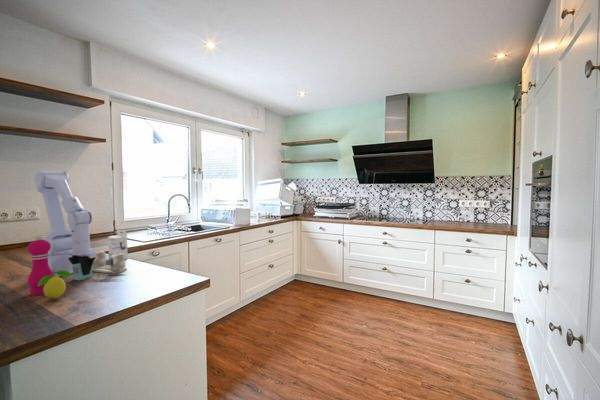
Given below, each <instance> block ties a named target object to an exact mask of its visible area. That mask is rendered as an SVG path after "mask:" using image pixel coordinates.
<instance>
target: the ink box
mask: <svg viewBox="0 0 600 400" xmlns="http://www.w3.org/2000/svg"><path fill="white" fill-rule="evenodd" d="M107 241H108V242H107V244H108V259H109V260H110V256H113V255H117V254H121V253H122V254H125V259H126V260H128V259H129V254H128V253H129V252H128V251H129V250H128V236H127V230H126V229H116V234H115V235H110V236H107Z"/></svg>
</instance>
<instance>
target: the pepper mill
mask: <svg viewBox="0 0 600 400" xmlns="http://www.w3.org/2000/svg"><path fill="white" fill-rule="evenodd" d="M34 239H35V240H33V241H31V242H30V243H28V245H27V249H26V250H27V252H28V253H29V254H30V255H29V257H30V260H32V268H31V270H30V273H29V275H28V277H27V281H26V282H27V285H28V286H29V287H31V288H30V289H29V295H31V296H40V295H45V294H44V291H43V288H44V284H45V283H44V284H42V285H40V286H38V283H39V281H40V280H41V279H42V278H43V277H45V276H48V275H52V274H53V271H52V270H51V269H50V267H49V265H48V257H49V255H50V254H49V253H48V251H49V250H50V248H51V245H50V243H49V242H48V241H46V240H44V239H43V237H42V236H41V235H36V236H35V238H34ZM52 276H53V275H52ZM52 276H51V277H52ZM54 276H55V275H54ZM51 277H50V278H51Z"/></svg>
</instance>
